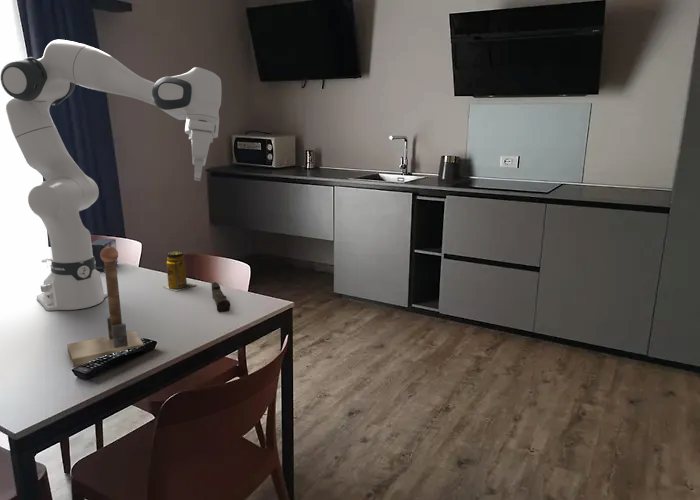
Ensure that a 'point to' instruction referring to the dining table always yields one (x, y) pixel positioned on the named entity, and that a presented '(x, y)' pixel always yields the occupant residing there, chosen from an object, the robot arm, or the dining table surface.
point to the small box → (97, 249)
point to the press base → (104, 344)
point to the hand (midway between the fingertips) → (197, 179)
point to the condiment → (176, 272)
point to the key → (47, 261)
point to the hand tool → (220, 298)
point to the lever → (112, 284)
